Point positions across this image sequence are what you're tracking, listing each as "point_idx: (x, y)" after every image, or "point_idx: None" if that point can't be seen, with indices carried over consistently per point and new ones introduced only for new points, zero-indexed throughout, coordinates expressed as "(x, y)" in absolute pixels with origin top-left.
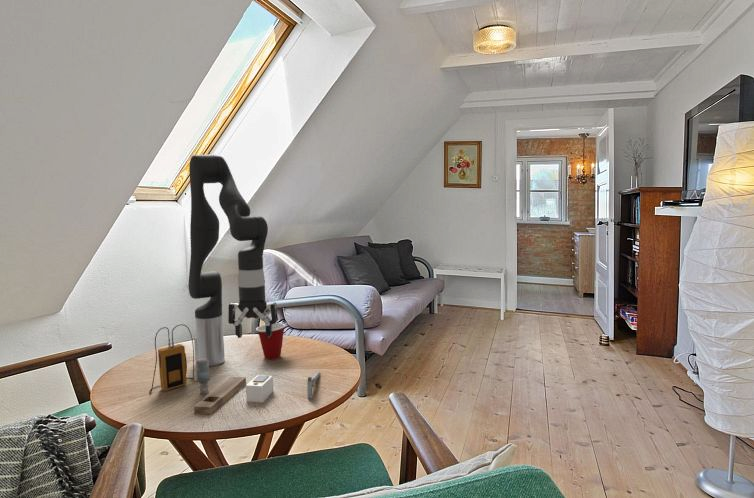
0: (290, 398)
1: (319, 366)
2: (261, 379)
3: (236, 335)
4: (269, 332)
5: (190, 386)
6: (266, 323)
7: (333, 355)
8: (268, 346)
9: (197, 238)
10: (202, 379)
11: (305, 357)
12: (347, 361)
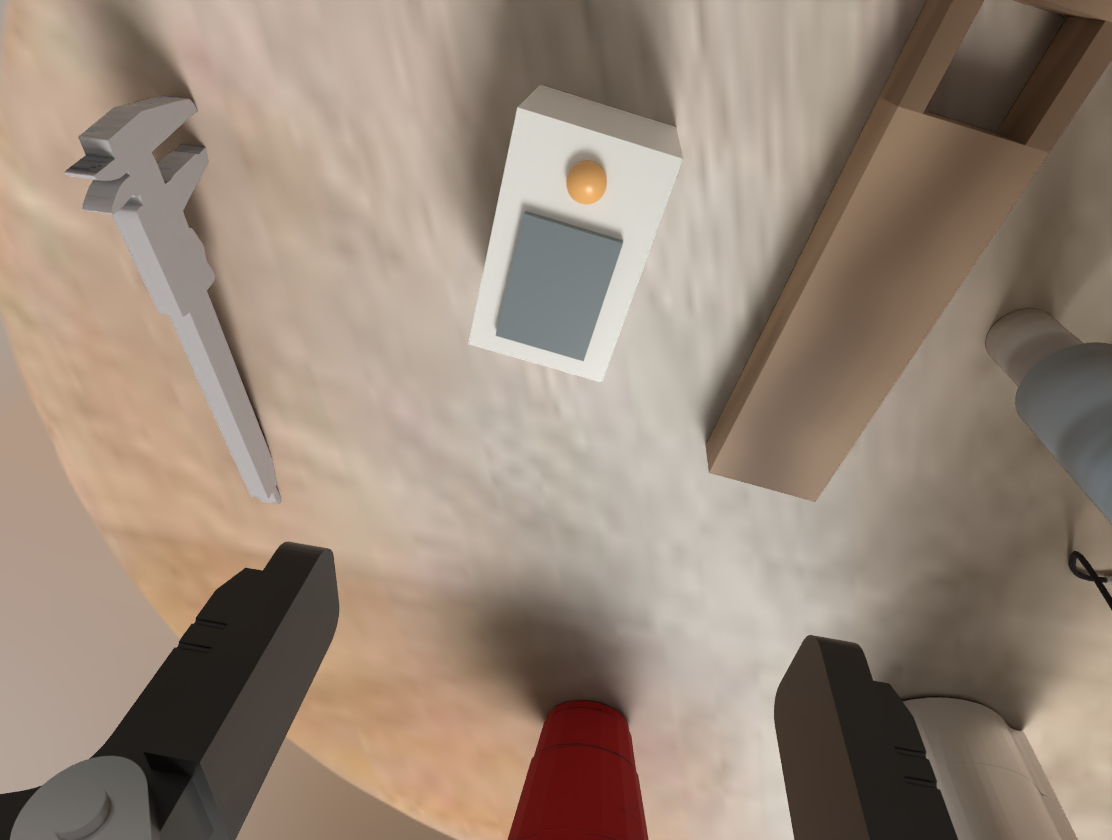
0: (333, 132)
1: None
2: (545, 261)
3: (888, 691)
4: (221, 627)
5: None
6: (114, 834)
7: None
8: (594, 775)
9: None
10: (1108, 357)
11: (411, 688)
12: (172, 608)
